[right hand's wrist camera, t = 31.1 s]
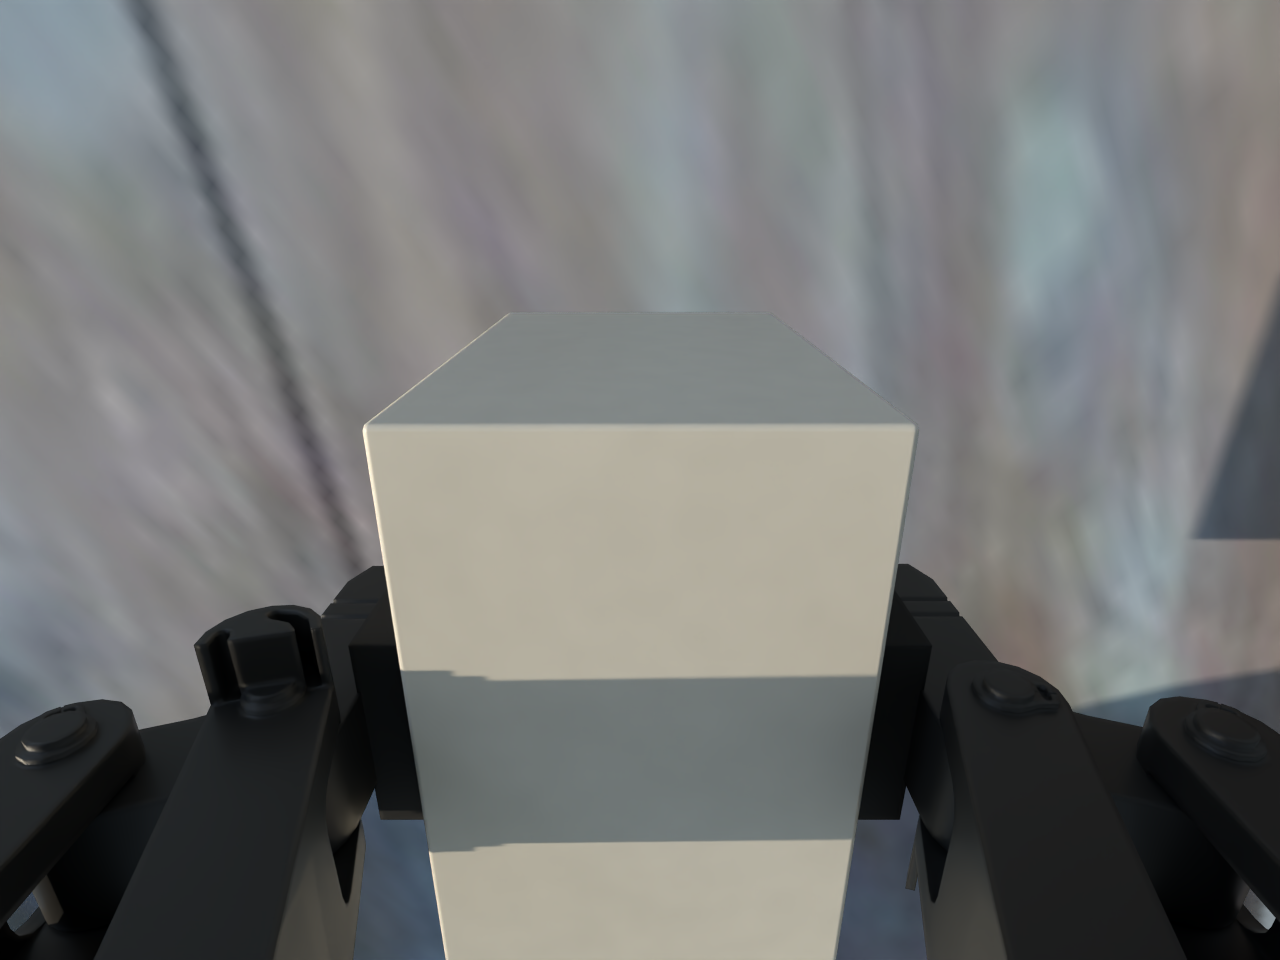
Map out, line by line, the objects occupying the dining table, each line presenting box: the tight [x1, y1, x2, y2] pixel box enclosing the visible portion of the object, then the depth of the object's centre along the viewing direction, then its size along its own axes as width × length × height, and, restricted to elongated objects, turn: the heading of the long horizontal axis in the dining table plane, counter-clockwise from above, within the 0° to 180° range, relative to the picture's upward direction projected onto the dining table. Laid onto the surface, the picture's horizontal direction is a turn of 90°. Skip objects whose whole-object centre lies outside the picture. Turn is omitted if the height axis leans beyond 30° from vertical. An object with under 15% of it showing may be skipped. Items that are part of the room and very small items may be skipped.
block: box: [363, 312, 919, 960], centre depth 12 cm, size 5×8×8 cm, turn 0°
